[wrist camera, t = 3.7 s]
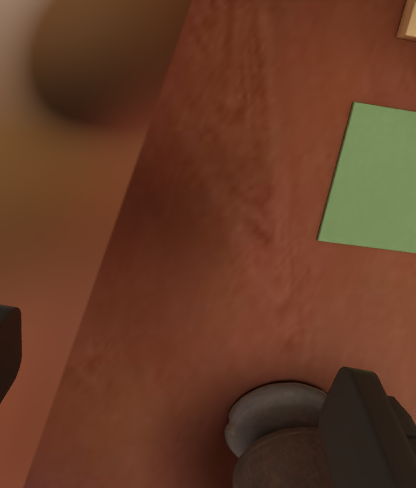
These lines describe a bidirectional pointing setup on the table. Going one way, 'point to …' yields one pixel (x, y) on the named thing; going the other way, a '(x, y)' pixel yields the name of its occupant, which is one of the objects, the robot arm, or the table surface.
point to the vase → (278, 438)
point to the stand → (408, 22)
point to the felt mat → (374, 182)
